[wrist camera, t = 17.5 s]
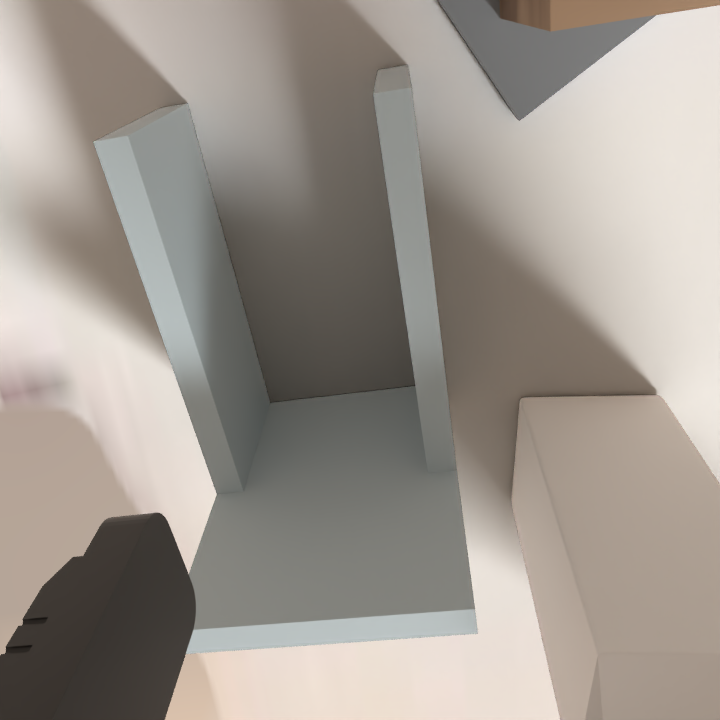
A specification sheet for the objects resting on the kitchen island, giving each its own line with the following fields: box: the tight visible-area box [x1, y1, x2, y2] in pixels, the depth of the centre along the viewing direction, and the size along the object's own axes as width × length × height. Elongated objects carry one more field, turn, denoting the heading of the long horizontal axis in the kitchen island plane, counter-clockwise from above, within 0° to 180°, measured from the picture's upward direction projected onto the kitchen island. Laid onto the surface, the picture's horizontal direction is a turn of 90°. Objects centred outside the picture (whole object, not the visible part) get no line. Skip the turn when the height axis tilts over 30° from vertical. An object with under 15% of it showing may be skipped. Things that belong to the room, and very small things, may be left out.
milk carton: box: [511, 395, 720, 720], centre depth 27 cm, size 7×7×19 cm
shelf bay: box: [93, 65, 478, 654], centre depth 24 cm, size 16×10×14 cm, turn 9°
